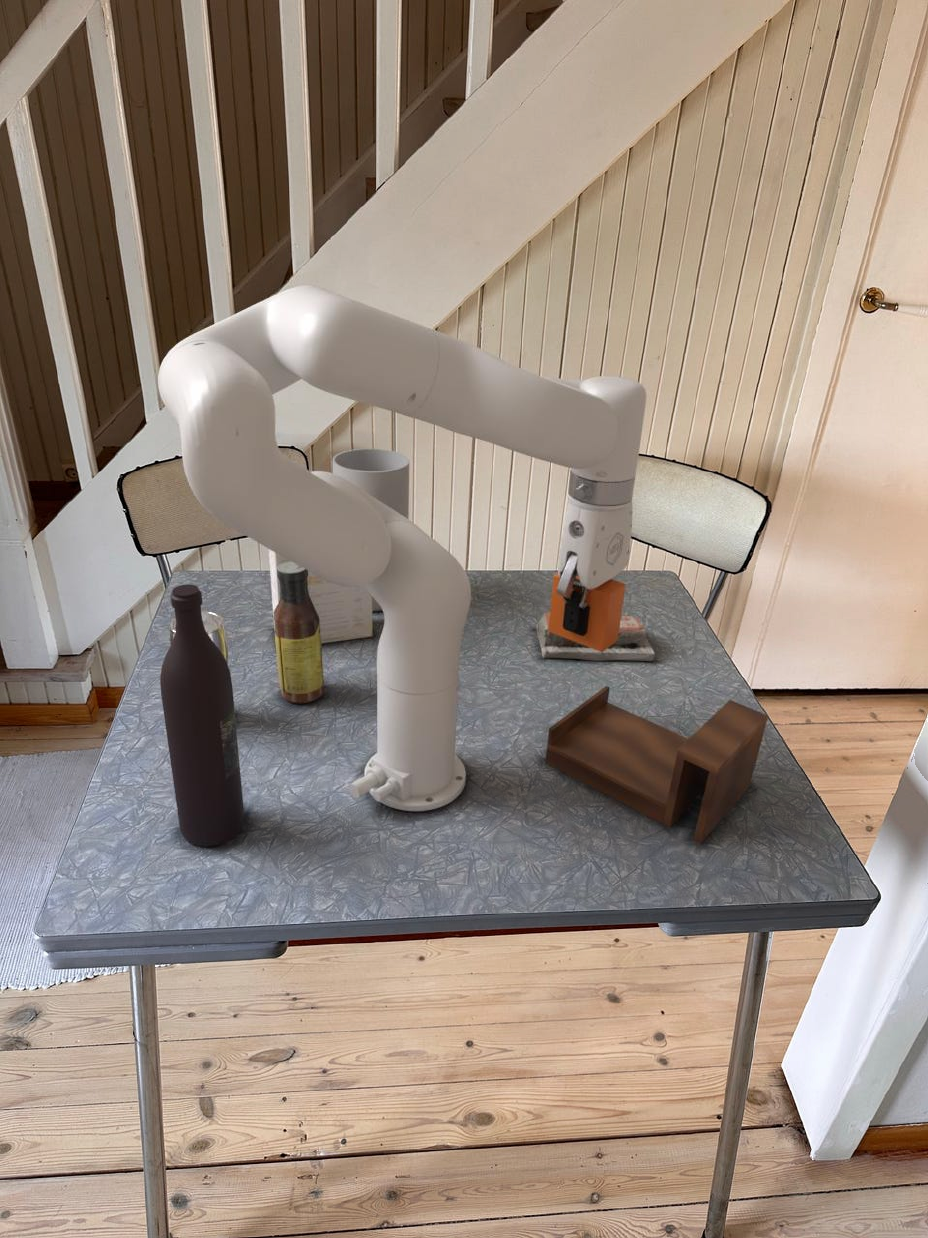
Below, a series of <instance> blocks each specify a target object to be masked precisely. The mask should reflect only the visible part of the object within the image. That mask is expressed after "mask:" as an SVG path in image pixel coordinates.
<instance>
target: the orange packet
mask: <svg viewBox="0 0 928 1238" xmlns="http://www.w3.org/2000/svg"><path fill="white" fill-rule="evenodd" d="M552 578H553V580H552V587H551V588H552V589H551V599H550V609H549V613H550V618H549V628H548V631H549V632H551V633H554V634H556V635H559V636H562V637H564V638H567V639H569V640H572V641H575V642H577V643H580V644H582V645H585V646H588V647H590V648H593V649H595V650H598V651H600V652H603V651H604V650H606V649H607V648H608V647H610V646H611V645H612V644H614V643H615V642H616V641H617V640H618V634H619V628H620V621H621V616H622V613H623V607H624V599H625V593H626V585H627V584H626V583H624V582H621V581H618V580H616V579H613V578H612V579H609V580H608V581H606V582H605V583H603V584H602V585H600V586H598V587H596V588H595V589H592V590H590V594H589V598H588V603H587V606H589V607H590V611H589V619H588V627H587V633H586V634H585V635H584V636H581V635H578V634H576V633H573V632H570V631H568V630H565V629H564V628H563V618H564V609H565V602H564V601H563V599H564V598H563V596H561V595H560V594H558V593H557V592H556V589H557V586H558V584H559V582H560V578H559V575H558V572H557V573H555V574H554V575H553V577H552ZM576 578H577V579H579V577H578V576H576ZM574 590H576V591H578V592H579V593H580V595H581V592H582V588H581V587H578V586H574Z"/></svg>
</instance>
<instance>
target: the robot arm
mask: <svg viewBox="0 0 928 1238" xmlns="http://www.w3.org/2000/svg"><path fill="white" fill-rule="evenodd" d="M301 380H302V381H304V382H305V383H307V384H308V385H310V386H312V387H314V388H316V389H318V390H321V391H323V392H325V393H329V394H330V395H335V396H338V397H341V398H344V399H348V400H352V401H355V402H358V403H362V404H365V405H368V406H372V407H376V408H379V409H383V410H385V411H389V412H393V413H395V414H396V413H397V414H399V415H402V416H405V417H409V418H412V419H415V420H418V421H421V422H425V423H428V424H431V425H434V426H437V427H440V428H442V429H444V430H447V431H449V432H453V433H456V434H459V435H463V436H466V437H469V438H473V439H478V440H480V441H484V442H488V443H490V444H492V445H496V446H499V447H501V448H504V449H507V450H510V451H513V452H516V453H518V454H522V455H524V456H526V457H527V456H528V457H530V458H534V459H537V460H540V461H544V462H547V463H550V464H555V465H558V466H561V467H565V468H568V469H570V470H569V471H570V473H569V478H568V479H569V480H568V489H567V499H568V500H569V502H568V504H567V509H566V513H565V518H564V522H563V527H562V532H561V539H560V546H559V554H558V564H557V573H558V575H559V578H560V582H559V584H558V586H557V589H556V592H557V593H558V594H560V595H561V596H563V598H564V599H563V601H564V602H565V609H564V618H563V628H564V629H565V630H568V631H570V632H573V633H576V634H578V635H581V636H584V635H585V634H586V633H587V627H588V619H589V611H590V607H589V606H587V603H588V598H589V594H590V590H592V589H595V588H596V587H598V586H600V585H602V584H603V583H605V582H606V581H608V580H609V579H612V580H613V578H614V577H615V576H617V575H619V574H620V573H621V572H623V571H624V570H625V569H626V568H627V566H628V564H629V560H630V552H631V542H632V531H633V529H632V528H633V512H634V511H633V497H634V490H635V484H636V476H637V468H638V462H639V455H640V449H641V440H642V433H643V426H644V420H645V411H646V405H647V392H646V389H645V386H643V384H642V383H640V382H639V381H637V380H634V379H631V378H627V377H621V376H611V375H600V376H594V377H590V378H587V379H572V378H561V377H550V376H541V375H538V374H536V373H533V372H530V371H529V370H525V369H523V368H521V367H519V366H516V365H514V364H512V363H510V362H508V361H505V360H504V359H501V358H499V357H497V356H496V355H494V354H492V353H490V352H489V351H486V350H484V349H482V348H480V347H478V346H476V345H473V344H472V343H469V342H467V341H464V340H462V339H460V338H457V337H455V336H452V335H449V334H448V333H443V332H441V331H438V330H435V329H432V328H430V327H427V326H424V325H422V324H419V323H416V322H414V321H410V320H409V319H405V318H403V317H400V316H397V315H394V314H392V313H389V312H387V311H384V310H381V309H379V308H376V307H373V306H370V305H368V304H365V303H363V302H360V301H357V300H355V299H352V298H349V297H347V296H344V295H341V294H338V293H336V292H333V291H332V290H331V291H330V290H328V289H326V288H324V287H320V286H316V285H309V284H308V285H307V284H303V285H297V286H294V287H293V286H292V287H290V288H288V289H285V290H283V291H279V292H278V293H276V294H274V295H271V296H270V297H267V298H265V299H263V300H261V301H259V302H257V303H255V304H253V305H251V306H249V307H246V308H245V309H243V310H240V311H239V312H237V313H234V314H232V315H231V316H229V317H226V318H224V319H222V320H220V321H218V322H216V323H214V324H212V325H209V326H208V327H205V328H202V329H201V330H198V331H197V332H195V333H193V334H190V335H189V336H188V337H185V338H183V339H182V340H181V341H179V342H178V343H176V344H175V345H174V346H173V347H171V348H170V350H169V351H168V352H167V353H166V355H165V356H164V358H163V360H162V361H161V364H160V366H159V370H158V375H157V387H158V392H159V397H160V398H161V401H162V403H163V405H164V407H165V409H166V410H167V412H168V413H169V415H171V417H172V418H173V419H174V421H175V422H176V425H177V426H178V427H179V432H180V444H181V459H182V465H183V471H184V475H185V477H186V479H187V482H188V485H189V488H190V489H191V491H192V493H193V496H195V498H196V500H197V501H198V502H199V504H200V505H201V507H203V508H204V509H205V511H206V512H208V513H209V514H210V515H211V516H212V517H214V518H216V519H217V520H218V521H220V522H221V523H223V524H224V525H226V526H228V527H230V528H231V529H233V530H235V531H237V532H239V533H241V534H242V535H244V536H246V537H247V538H249V539H251V540H253V541H255V542H257V543H258V544H260V545H261V546H263V547H265V548H266V549H268V550H269V549H270V550H272V551H274V552H275V553H277V554H279V555H281V556H283V557H285V558H286V559H288V560H290V561H292V562H294V563H296V564H298V565H299V566H301V567H303V568H305V569H306V570H308V571H310V572H311V573H313V574H315V575H316V576H318V577H320V578H321V579H324V580H326V581H328V582H330V583H333V584H337V585H341V586H360V585H363V586H364V587H365V588H366V590H367V591H368V592H369V593H370V594H371V595H372V596H373V598H374V599H375V600H376V602H377V603H378V604H379V605H380V606H381V608H382V610H381V611H382V612H383V620H384V621H383V628H382V631H381V634H380V637H379V640H378V643H377V651H376V681H377V682H376V688H377V689H376V693H377V695H376V696H377V697H376V700H377V701H376V704H377V706H376V715H377V716H376V732H377V733H376V734H377V735H376V753H375V754H373V755H372V756H371V757H370V759H368V762H367V763H366V765H365V767H364V776H363V777H359V778H357V779H355V781H353V782H351V783H349V785H348V792H349V795H350V796H351V797H352V798H353V799H356V800H358V799H359V798H361V797H363V796H364V795H366V794H367V793H369V794H370V795H371V797H373V799H374V800H375V801H376V802H378V803H381V804H383V805H384V806H387V807H390V808H392V809H396V810H399V811H405V812H406V811H407V812H426V811H431V810H435V809H439V808H441V807H444V806H446V805H448V804H450V803H452V802H453V801H454V800H455V799H457V798H458V797H459V795H461V794H462V793H463V790H464V788H465V785H466V779H467V771H466V767H465V765H464V763H463V761H462V760H461V758H459V757H458V756H457V755H456V739H457V738H456V737H457V721H458V720H457V719H458V700H459V699H458V698H459V684H460V683H459V681H460V662H461V661H460V660H461V649H462V639H463V634H464V631H465V630H464V629H465V625H466V622H467V619H468V616H469V615H468V614H469V611H470V607H471V601H472V589H471V582H470V579H469V577H468V575H467V573H466V570H465V569H464V567H463V566H462V564H461V563H460V561H458V559H457V558H456V557H455V556H454V555H453V554H452V553H451V552H450V551H448V550H447V548H445V547H444V546H443V545H442V544H441V543H439V542H438V541H437V540H435V539H434V538H432V537H431V536H430V535H429V534H428V533H426V532H425V531H424V530H423V529H421V528H420V527H419V526H418V525H417V524H416V523H414V522H413V521H411V519H410V518H408V519H407V518H406V517H404V516H403V515H401V514H399V513H398V512H396V511H395V510H393V509H391V508H390V507H388V506H387V505H385V504H383V503H382V502H380V501H379V500H377V499H376V498H374V497H372V496H371V495H369V494H368V493H366V492H364V491H363V490H361V489H360V488H358V487H357V486H355V485H353V484H352V483H350V482H349V481H347V480H345V479H344V478H342V477H340V476H338V475H336V474H333V472H330V471H324V470H313V471H311V470H309V469H307V468H306V467H305V466H303V465H302V464H300V463H299V462H297V461H295V460H292V459H291V458H289V457H288V456H286V455H285V454H283V453H282V451H281V450H280V448H279V446H278V442H277V437H276V405H275V400H274V396H273V395H274V394H276V393H279V392H281V391H283V390H284V389H286V388H288V387H290V386H292V385H293V384H295V383H297V382H299V381H301ZM576 576H578V577H579V579H577V578H576ZM574 586H578V587H581V588H582V592H581V595H580V593H579V592H578V591H576V590H574Z"/></svg>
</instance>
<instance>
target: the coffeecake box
mask: <svg viewBox="0 0 928 1238" xmlns="http://www.w3.org/2000/svg"><path fill="white" fill-rule="evenodd" d="M268 559H269V575H270V587H271V588H270V590H271V602H272V615H273V616H272V617H273V619H274V610H275V609H276V606H277V605H278V603H279V600H280V582H279V579H278V577H277V567H278V566H279V565H280V564H282V563H285V562H292V561H290V560H288V559H286V558H285V557H283V556H281V555H279V554H277V553H275V552H274V551H272V550H270V549H268ZM307 582H308V591H309V596H310V598H311V600H312V603H313V605H314V607H315V609H316V612H317V614H318V616H319V620H320V635H321V644H327V643H335V642H342V641H348V640H349V641H351V640H355V639H356V640H357V639H363V638H371V637H373V611H372V595H371V594H370V593H369V592H368V591H367V590H366V588H365V587H364V586H363V585H360V586H341V585H337V584H333V583H330V582H328V581H326V580H324V579H321V578H320V577H318V576H316V575H315V574H313V573H311V572H310V571H308V577H307ZM273 627H274V628H273V629H274V631H275V624H274V623H273Z"/></svg>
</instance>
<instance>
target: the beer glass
mask: <svg viewBox="0 0 928 1238" xmlns="http://www.w3.org/2000/svg"><path fill="white" fill-rule="evenodd" d="M201 614H202V620H203V624H204V628H205V631H206V632H207V634H208V635H209V637H210V638H211V640H212V641H213V642H214V643H215V645H216V646H217V647H218V648H219V649H220V651H221V653H222V654H223V656H224V657H225V659H226V662H227V665H228V666H229V650H228V648H229V647H228V641H227V636H226V629H225V626H224V619H223V617H222V615H220V614H218V613H217V612H213V611H209V610H201ZM175 632H176V618H175V617H173V618H172V619H171V621H170V622H169V639H170V640H169V641H170V645H171V644H172V641H173V638H174V636H175Z"/></svg>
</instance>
